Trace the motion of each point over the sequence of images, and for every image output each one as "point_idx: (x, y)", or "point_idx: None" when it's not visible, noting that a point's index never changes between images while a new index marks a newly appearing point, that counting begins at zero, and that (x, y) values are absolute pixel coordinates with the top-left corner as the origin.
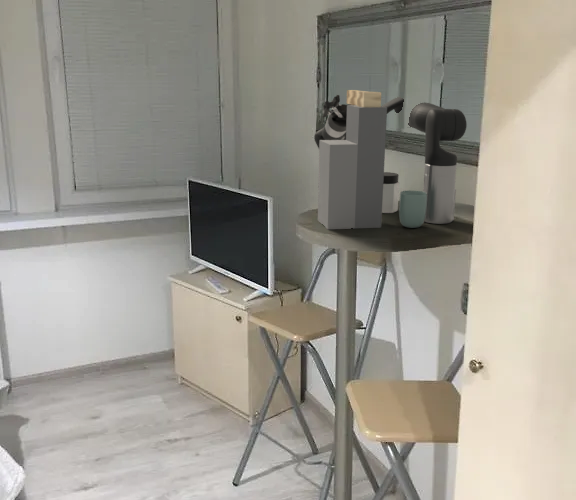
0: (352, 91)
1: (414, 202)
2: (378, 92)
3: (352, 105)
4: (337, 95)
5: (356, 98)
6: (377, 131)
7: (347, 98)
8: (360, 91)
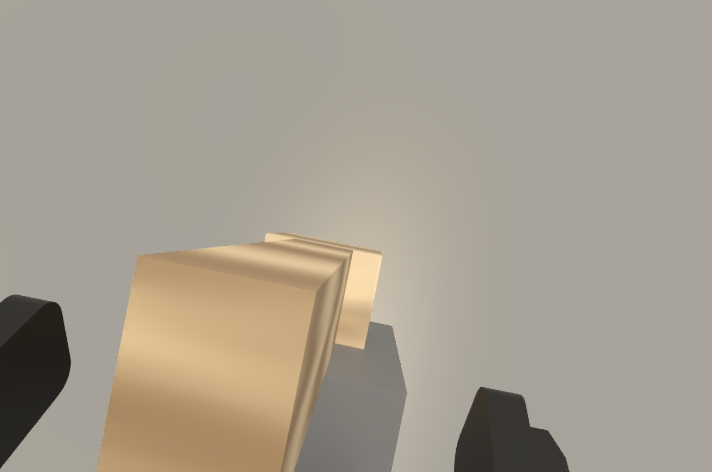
0: (338, 273)
1: None
2: (303, 235)
3: (370, 372)
4: (509, 397)
5: (336, 317)
6: None
7: (291, 441)
8: (348, 251)
